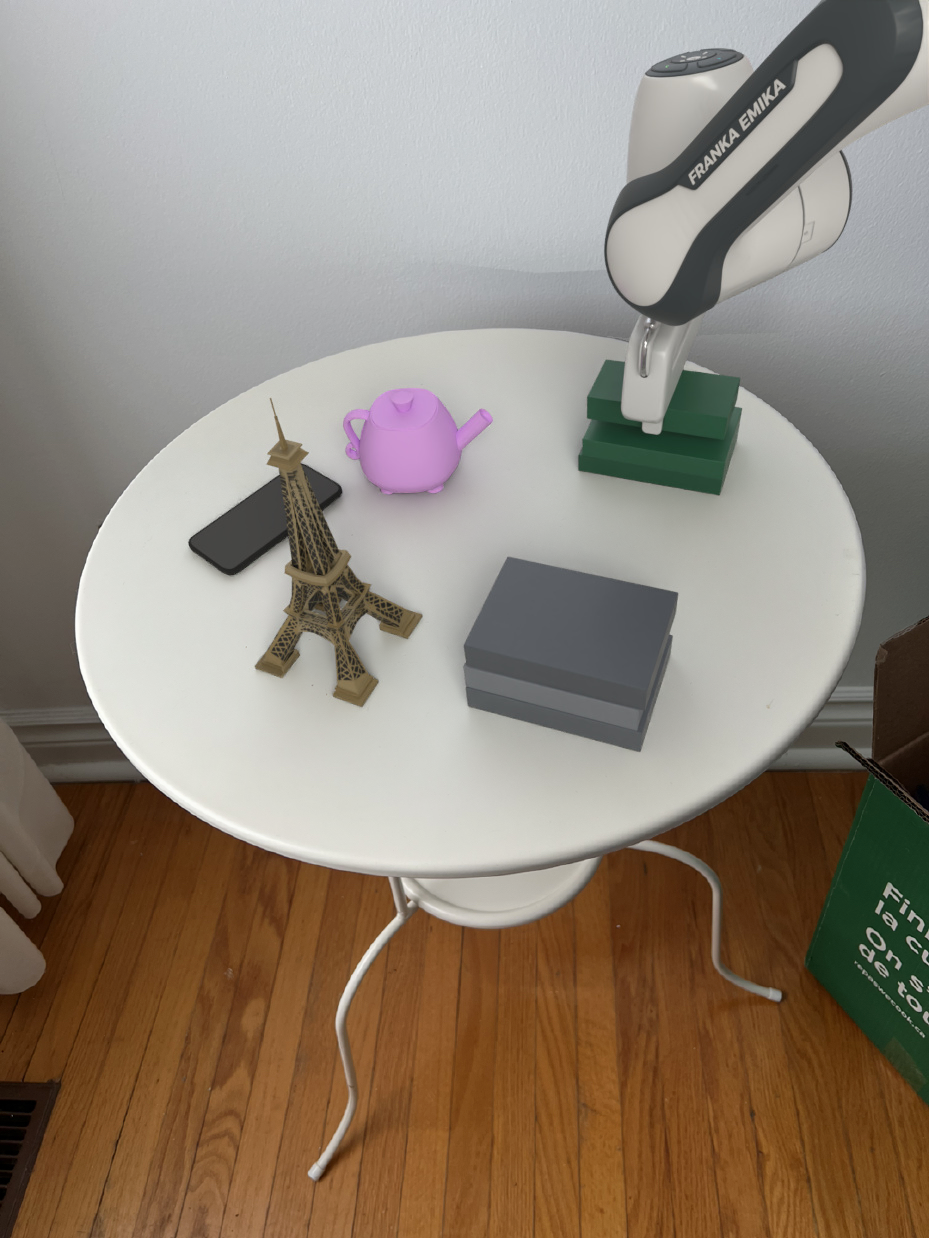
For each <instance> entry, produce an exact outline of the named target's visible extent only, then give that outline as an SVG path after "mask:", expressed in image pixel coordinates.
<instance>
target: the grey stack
mask: <svg viewBox="0 0 929 1238" xmlns="http://www.w3.org/2000/svg"><path fill="white" fill-rule="evenodd" d="M678 600H679V592H678V591H674V590H669V589H664V588H659V587H654V586H650V585H645V584H639V583H635V582H630V581H627V580H626V581H625V580H621V579H616V578H611V577H607V576H602V575H597V574H593V573H588V572H584V571H579V570H575V569H574V570H573V569H569V568H565V567H560V566H555V565H550V564H545V563H541V562H536V561H531V560H527V559H522V558H517V557H512V556H507V557H506V559H505V561H504V563H503V565H502V567H501V569H500V571H499V573H498V575H497V577H496V579H495V581H494V583H493V585H492V586H491V589H490V590H489V593H488V594H487V597H486V599H485V600H484V603H483V606H482V607H481V609H480V611H479V613H478V615H477V617H476V619H475V621H474V623H473V625H472V627H471V629H470V632H469V633H468V635H467V637H466V639H465V641H464V643H463V651H464V652H463V653H464V659H465V660H464V661H465V662H464V664H463V667H462V668H463V674H464V681H465V693H466V700H467V701H466V702H467V706H468V707H469V708H473V709H477V710H481V711H485V712H488V713H492V714H495V715H500V716H503V717H507V718H510V719H515V720H518V721H521V722H525V723H529V724H533V725H537V726H540V727H543V728H544V727H545V728H548V729H552V730H554V731H560V732H564V733H566V734H571V735H574V736H578V737H582V738H584V739H585V738H586V739H589V740H593V741H597V742H601V743H605V744H608V745H612V746H616V747H619V748H623V749H627V750H630V751H633V752H638V753H640V752H642V748H643V745H644V741H645V739H646V735H647V733H648V729H649V725H650V722H651V719H652V716H653V712H654V710H655V706H656V703H657V700H658V696H659V693H660V690H661V687H662V683H663V680H664V677H665V674H666V671H667V667H668V665H669V661H670V657H671V654H672V647H673V637H674V636H673V634H670V633H671V630H672V627H673V624H674V621H675V618H676V614H677V607H678Z"/></svg>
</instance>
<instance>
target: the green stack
mask: <svg viewBox="0 0 929 1238" xmlns="http://www.w3.org/2000/svg"><path fill="white" fill-rule="evenodd" d="M742 412H743V407H739V406H735V407H734V411H733V414H732V417H731V420H730V423H729V426H728V429H727V432H726V435H725V438H724V440H720V439H714V438H707V437H701V436H695V435H688V434H682V433H676V432H669V431H663V430H662V431H661V433H660V434H657V435H655V434H649V433H645V432H644V431H643V430H642V427H637V426H631V425H625V424H618V423H612V422H606V421H599V420H593V419H590V420H591V421H590V423H589V425H588V426H587V428H586V431H585V432H584V435H583V437H582V442H581V445H582V446H581V448H580V451H579V453H578V456H577V457H578V458H577V459H578V461H577V467H578V468H577V470H578V471H580V472H585V473H589V474H590V473H591V474H596V475H602V476H607V477H612V478H613V477H614V478H618V479H624V480H631V481H635V482H641V483H647V484H651V485H658V486H663V487H664V486H665V487H669V488H674V489H675V488H676V489H681V490H687V491H693V492H697V493H705V494H710V495H715V496H720V495H721V493H722V490H723V486H724V483H725V480H726V477H727V475H728V474H727V473H728V471H729V467H730V464H731V461H732V458H733V454H734V451H735V449H736V448H735V447H736V444H737V441H738V436H739V431H740V424H741V418H742Z"/></svg>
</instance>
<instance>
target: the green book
mask: <svg viewBox="0 0 929 1238" xmlns="http://www.w3.org/2000/svg"><path fill="white" fill-rule="evenodd" d="M624 368H625V361H621V360H616V359H615V360H614V359H607V358H606V359H604V362H603V364H602V366H601V368H600V370H599V372H598V374H597V376H596V378H595V380H594V382H593V384H592V386H591V389H590V390H589V392H588V395H587V396H586V419H587V420H592V419H593V420H599V421H606V422H612V423H618V424H625V425H631V426H637V427H642V422H639V421H633V420H628V419H626V418H624V416H623V414H622V411H621V400H622V389H623V378H624ZM740 383H741V377H739V376H731V375H724V374H719V373H718V374H716V373H710V372H703V371H696V370H695V371H694V370H689V369H684V370H683V371H682V373H681V376H680V378H679V381H678V383H677V386H676V388H675V391H674V393H673V396H672V398H671V401H670V403H669V406H668V408H667V411H666V413H665V421H664V425H663V428H662V430H663V431H669V432H676V433H682V434H688V435H695V436H701V437H707V438H714V439H720V440H724V438H725V435H726V432H727V429H728V426H729V423H730V420H731V417H732V414H733V411H734V407H736V404H737V401H738V396H739V390H740Z"/></svg>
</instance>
